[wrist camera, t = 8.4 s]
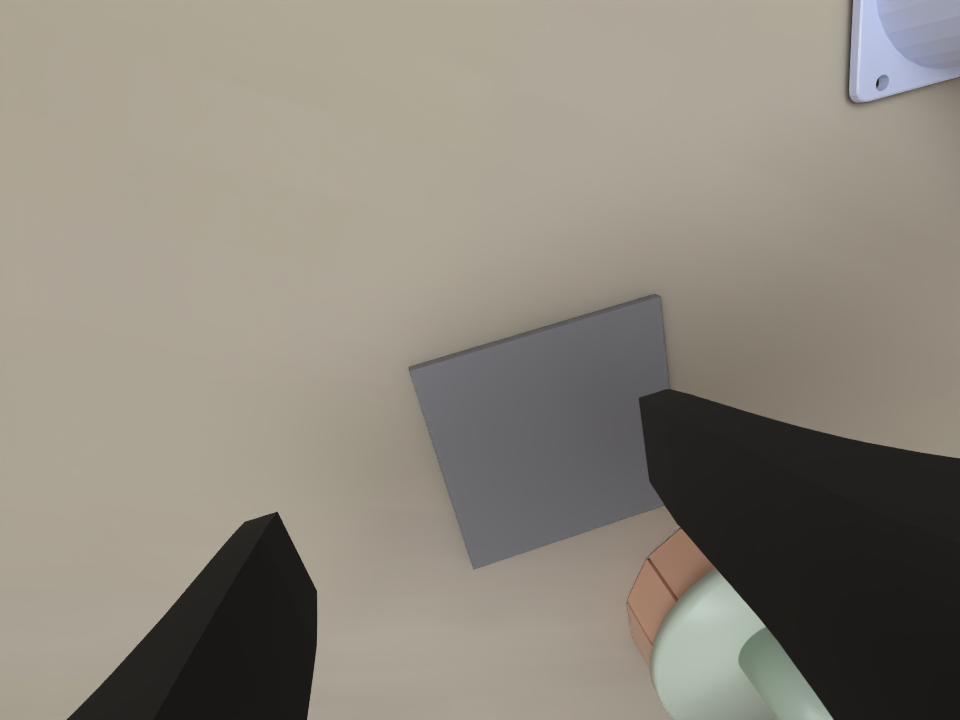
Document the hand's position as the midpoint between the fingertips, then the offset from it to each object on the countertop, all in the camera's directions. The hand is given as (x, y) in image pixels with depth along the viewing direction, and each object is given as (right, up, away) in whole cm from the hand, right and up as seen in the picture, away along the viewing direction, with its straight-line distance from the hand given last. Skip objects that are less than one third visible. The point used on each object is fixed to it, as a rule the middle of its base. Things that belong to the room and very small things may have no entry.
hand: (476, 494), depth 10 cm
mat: (+3, -1, +12) cm, 12 cm away
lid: (+13, -10, +14) cm, 22 cm away
